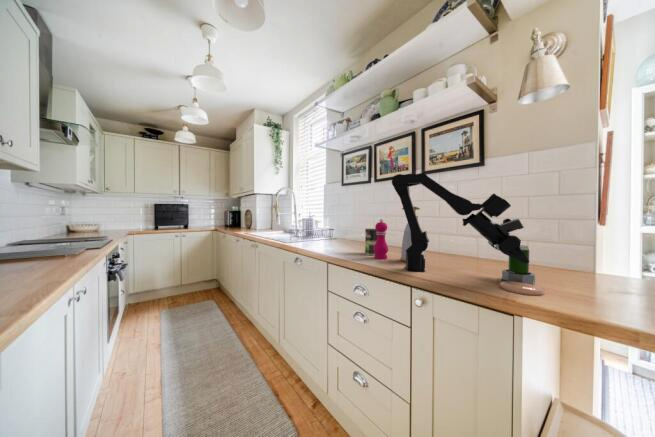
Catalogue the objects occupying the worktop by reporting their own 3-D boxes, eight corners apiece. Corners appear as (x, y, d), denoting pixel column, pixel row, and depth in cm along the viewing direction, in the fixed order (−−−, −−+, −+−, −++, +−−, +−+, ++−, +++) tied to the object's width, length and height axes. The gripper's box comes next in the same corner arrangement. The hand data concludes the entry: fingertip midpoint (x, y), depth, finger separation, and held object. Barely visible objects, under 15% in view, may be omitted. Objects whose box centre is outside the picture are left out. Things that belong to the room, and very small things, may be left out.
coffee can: (369, 256, 124) (369, 229, 124) (362, 252, 134) (362, 228, 134) (386, 255, 126) (387, 229, 126) (378, 252, 136) (378, 228, 136)
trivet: (515, 294, 65) (515, 290, 65) (493, 284, 75) (493, 280, 75) (554, 296, 64) (554, 292, 64) (526, 285, 74) (526, 282, 74)
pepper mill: (388, 259, 114) (389, 219, 114) (373, 259, 115) (374, 219, 115) (387, 257, 121) (388, 219, 121) (373, 256, 122) (374, 218, 122)
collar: (513, 283, 75) (514, 274, 75) (497, 277, 83) (497, 268, 83) (541, 284, 74) (541, 275, 74) (521, 278, 82) (522, 269, 82)
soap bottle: (395, 259, 115) (395, 206, 114) (414, 258, 118) (415, 207, 118) (409, 264, 104) (410, 206, 104) (430, 263, 107) (431, 206, 107)
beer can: (520, 283, 76) (520, 247, 75) (504, 279, 81) (504, 244, 81) (532, 282, 77) (533, 246, 77) (516, 278, 82) (517, 244, 82)
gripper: (512, 210, 72) (559, 248, 67) (499, 211, 89) (535, 241, 84) (482, 234, 75) (524, 272, 71) (474, 231, 92) (508, 261, 87)
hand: (523, 260), depth 78 cm, fingers open, 8 cm apart
